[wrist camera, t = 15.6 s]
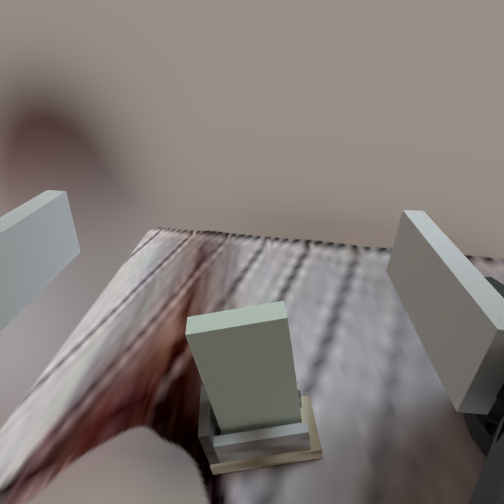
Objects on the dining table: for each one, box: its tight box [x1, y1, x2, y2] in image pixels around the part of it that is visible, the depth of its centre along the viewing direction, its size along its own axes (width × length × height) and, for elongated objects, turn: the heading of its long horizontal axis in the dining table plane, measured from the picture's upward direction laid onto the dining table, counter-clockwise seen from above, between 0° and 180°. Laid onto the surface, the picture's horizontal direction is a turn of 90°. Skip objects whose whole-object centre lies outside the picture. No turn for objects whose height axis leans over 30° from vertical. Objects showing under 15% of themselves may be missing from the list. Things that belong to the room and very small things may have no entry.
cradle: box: [198, 382, 323, 475], centre depth 36 cm, size 11×6×6 cm, turn 94°
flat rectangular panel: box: [185, 301, 302, 435], centre depth 33 cm, size 8×3×16 cm, turn 94°
